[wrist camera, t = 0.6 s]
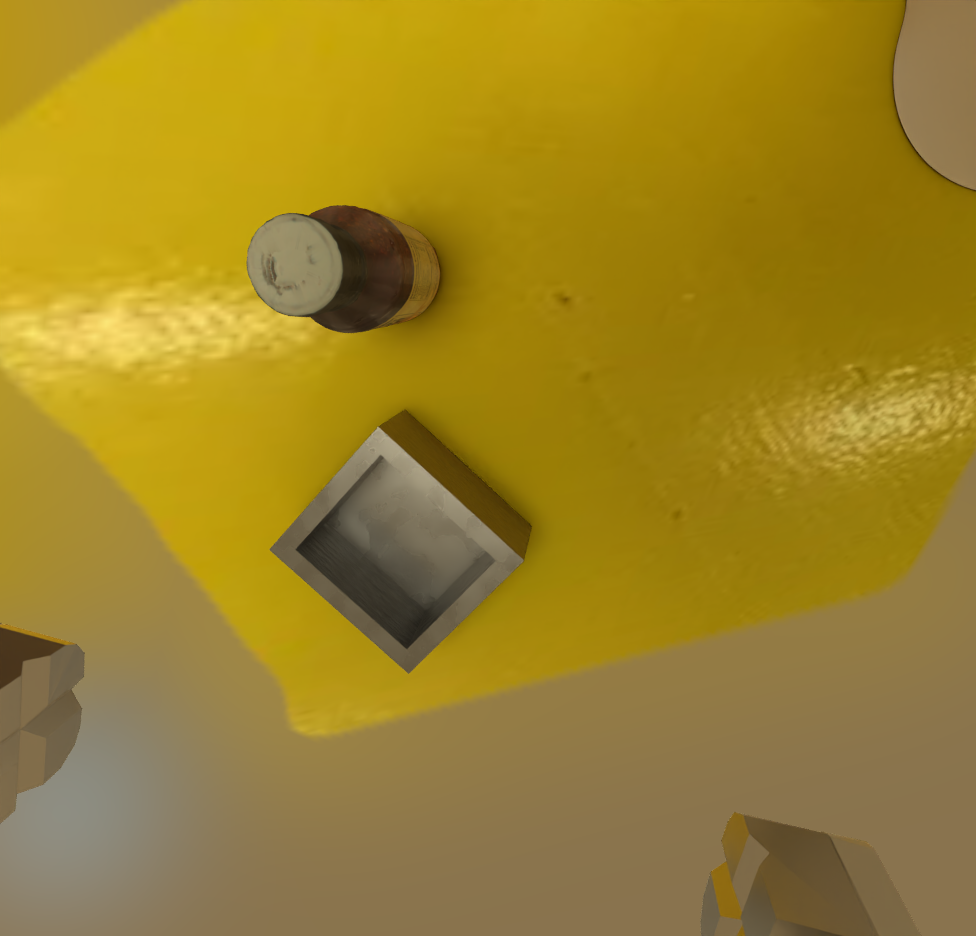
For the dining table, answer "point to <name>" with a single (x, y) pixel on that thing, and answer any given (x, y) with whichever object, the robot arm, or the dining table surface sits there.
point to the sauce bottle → (343, 268)
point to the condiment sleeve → (405, 540)
